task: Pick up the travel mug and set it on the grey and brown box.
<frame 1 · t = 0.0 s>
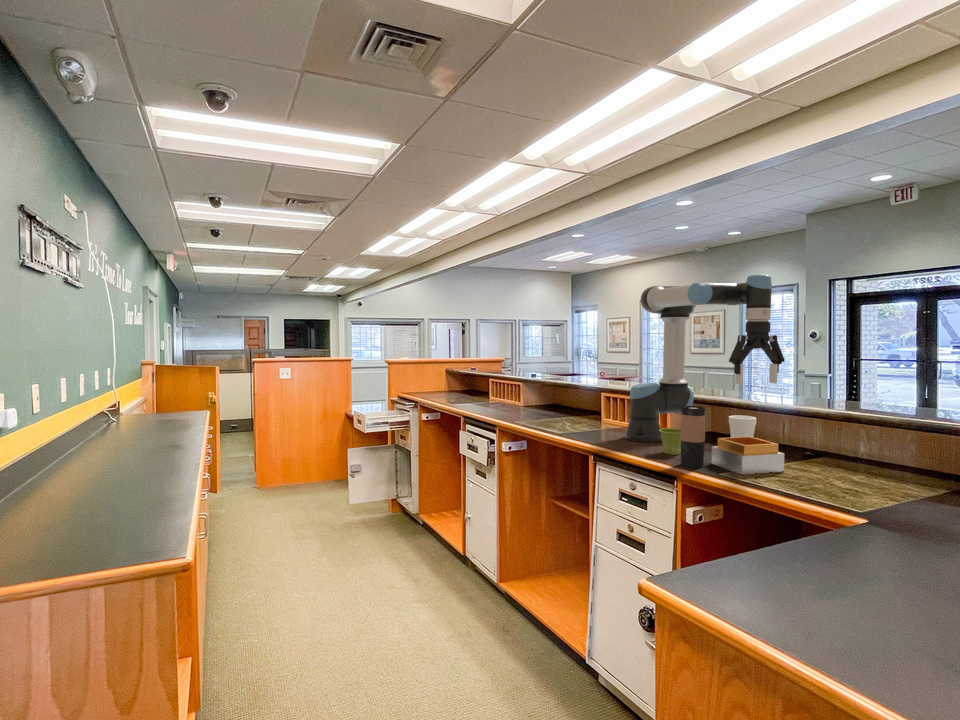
hand: (756, 383, 186), 28 cm above the counter, tool pointing down, fingers open, 13 cm apart
grey and brown box: (746, 467, 184), on the counter
plant pot: (671, 453, 205), on the counter
foam cup: (741, 451, 209), on the counter
travel mug: (692, 465, 187), on the counter
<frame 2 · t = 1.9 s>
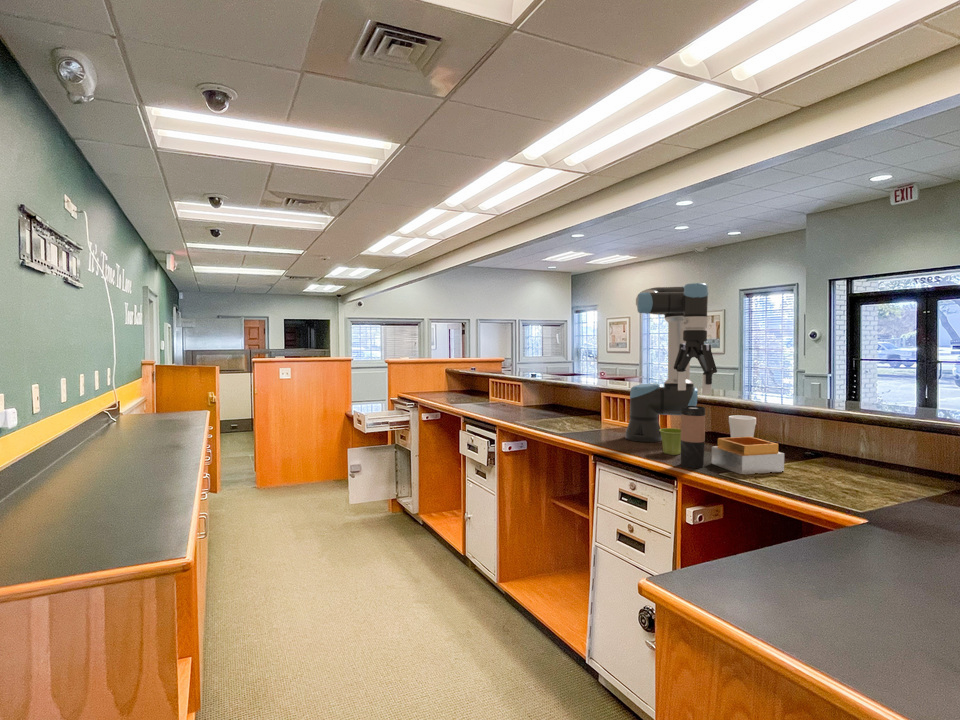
hand: (693, 392, 185), 25 cm above the counter, tool pointing down, fingers open, 13 cm apart
nothing on the counter moved.
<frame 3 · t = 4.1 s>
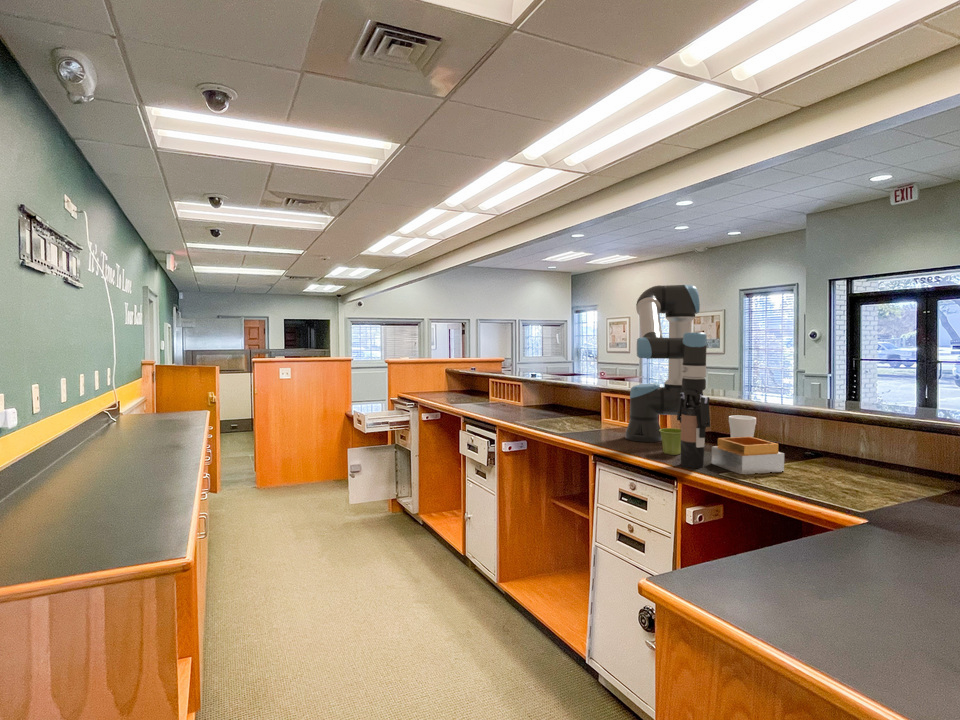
hand: (692, 444, 187), 7 cm above the counter, tool pointing down, fingers closed on travel mug, 8 cm apart
travel mug: (692, 465, 187), on the counter, touching gripper
everything else where it was.
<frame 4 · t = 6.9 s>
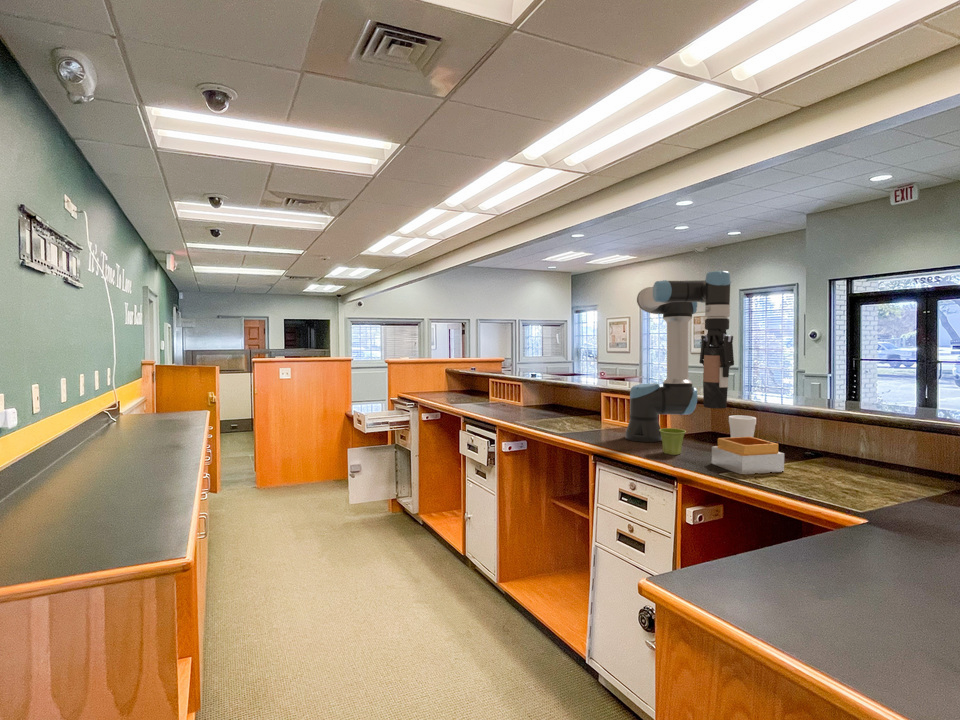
hand: (715, 385, 184), 27 cm above the counter, tool pointing down, fingers closed on travel mug, 8 cm apart
travel mug: (714, 407, 184), point 20 cm above the counter, touching gripper
everything else where it was.
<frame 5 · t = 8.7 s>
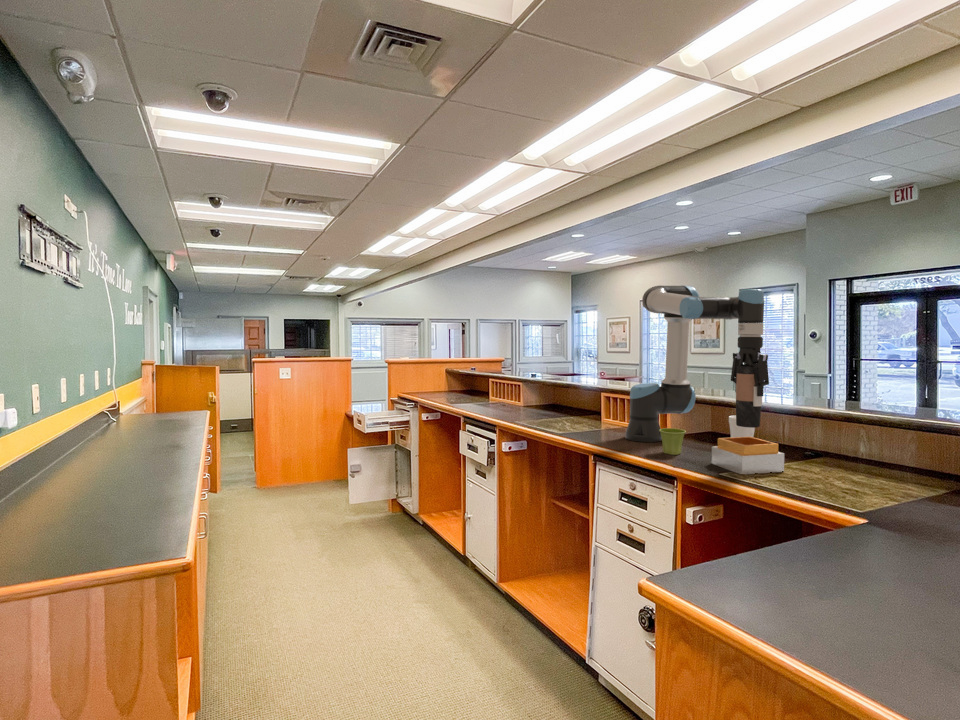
hand: (748, 404, 183), 21 cm above the counter, tool pointing down, fingers closed on travel mug, 8 cm apart
travel mug: (747, 426, 183), point 14 cm above the counter, touching gripper
everything else where it was.
when the fingers open (15 cm above the counter, at t = 10.2 s): travel mug drops 2 cm, resting on grey and brown box.
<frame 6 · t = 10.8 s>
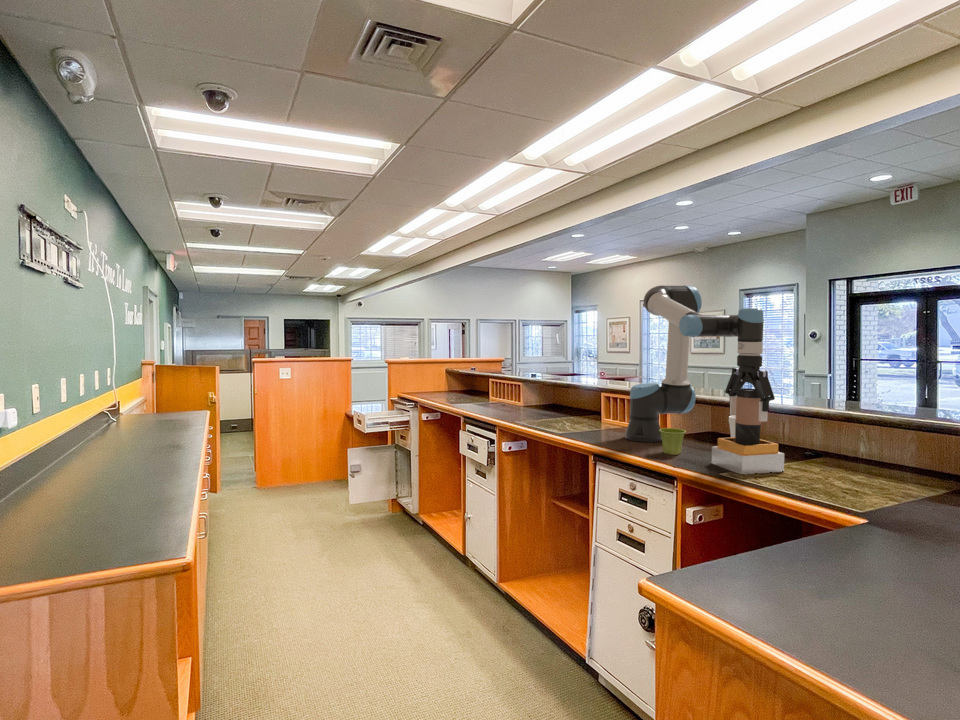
hand: (747, 418, 183), 17 cm above the counter, tool pointing down, fingers open, 13 cm apart
travel mug: (746, 449, 184), point 6 cm above the counter, touching grey and brown box
everything else where it was.
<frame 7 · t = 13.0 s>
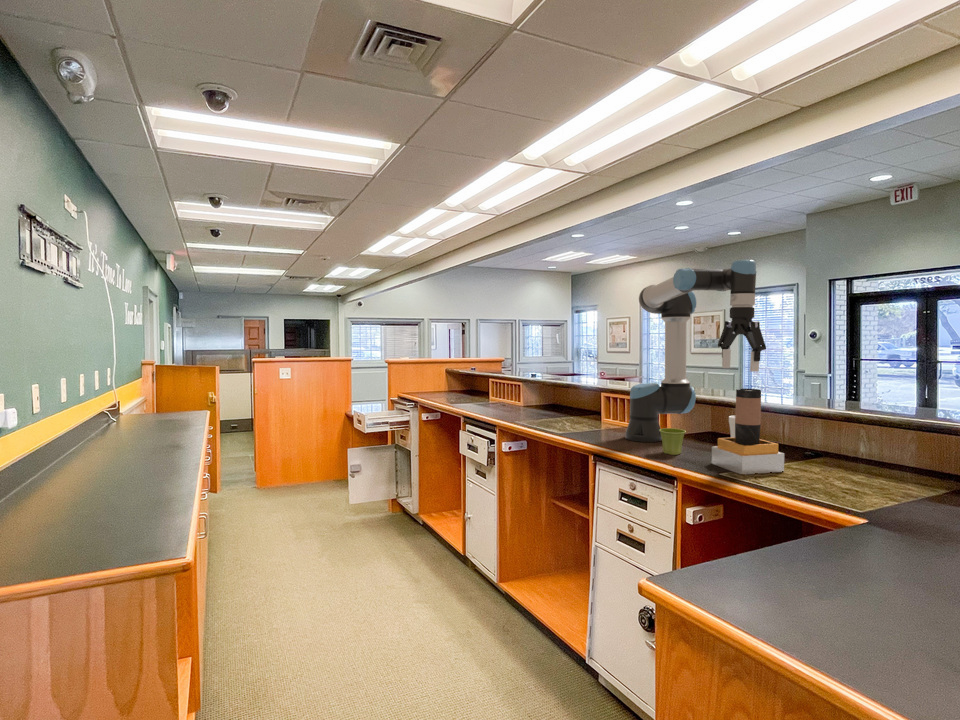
hand: (739, 369, 186), 33 cm above the counter, tool pointing down, fingers open, 13 cm apart
nothing on the counter moved.
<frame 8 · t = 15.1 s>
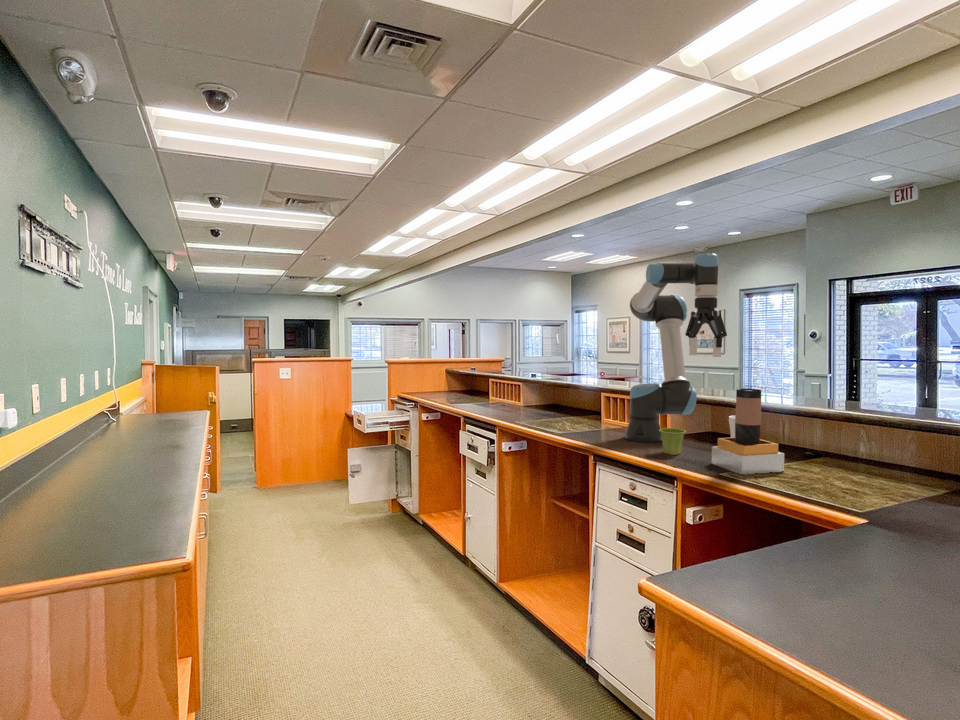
hand: (704, 356, 199), 37 cm above the counter, tool pointing down, fingers open, 13 cm apart
nothing on the counter moved.
at the end: travel mug 0.0 cm off-centre on the grey and brown box, point 6.1 cm above the grey and brown box's base; travel mug tilted 0°; the gripper is holding nothing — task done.
